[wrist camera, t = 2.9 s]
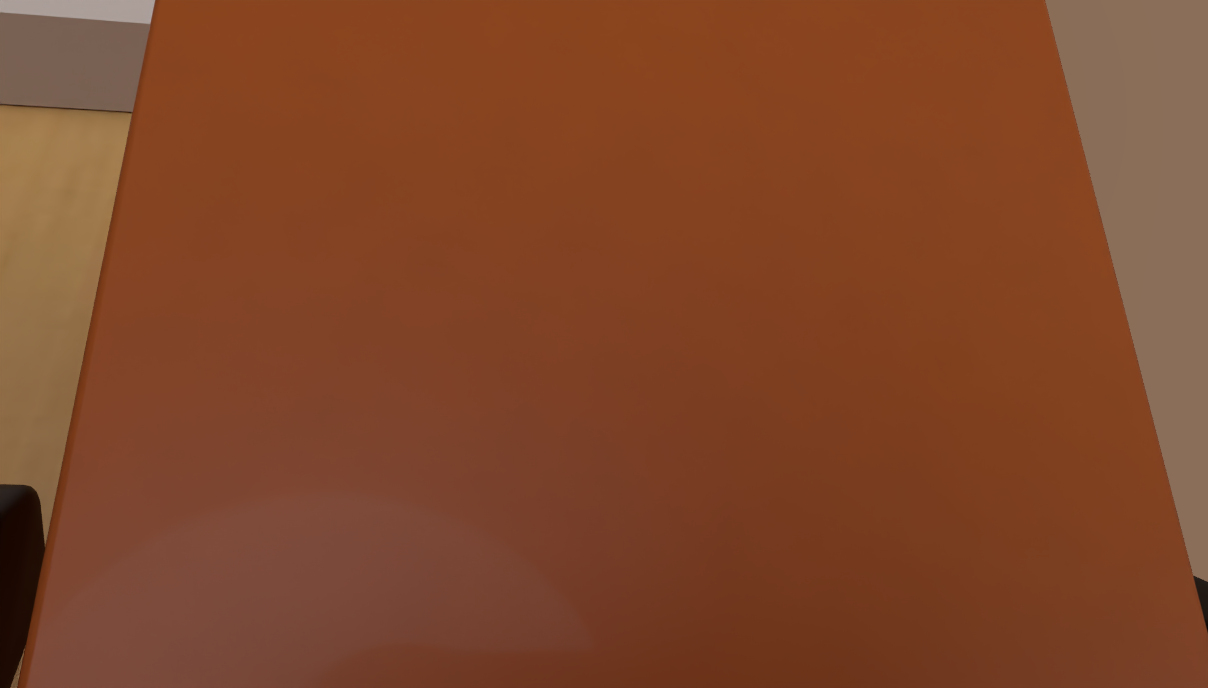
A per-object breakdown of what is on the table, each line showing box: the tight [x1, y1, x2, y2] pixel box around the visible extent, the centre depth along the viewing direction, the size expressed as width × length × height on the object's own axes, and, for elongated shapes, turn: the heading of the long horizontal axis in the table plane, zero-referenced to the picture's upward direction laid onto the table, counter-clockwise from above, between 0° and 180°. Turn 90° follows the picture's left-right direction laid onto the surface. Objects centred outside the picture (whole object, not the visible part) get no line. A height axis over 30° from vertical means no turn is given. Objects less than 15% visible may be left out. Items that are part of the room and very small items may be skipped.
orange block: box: [17, 0, 1208, 688], centre depth 11 cm, size 6×6×13 cm
